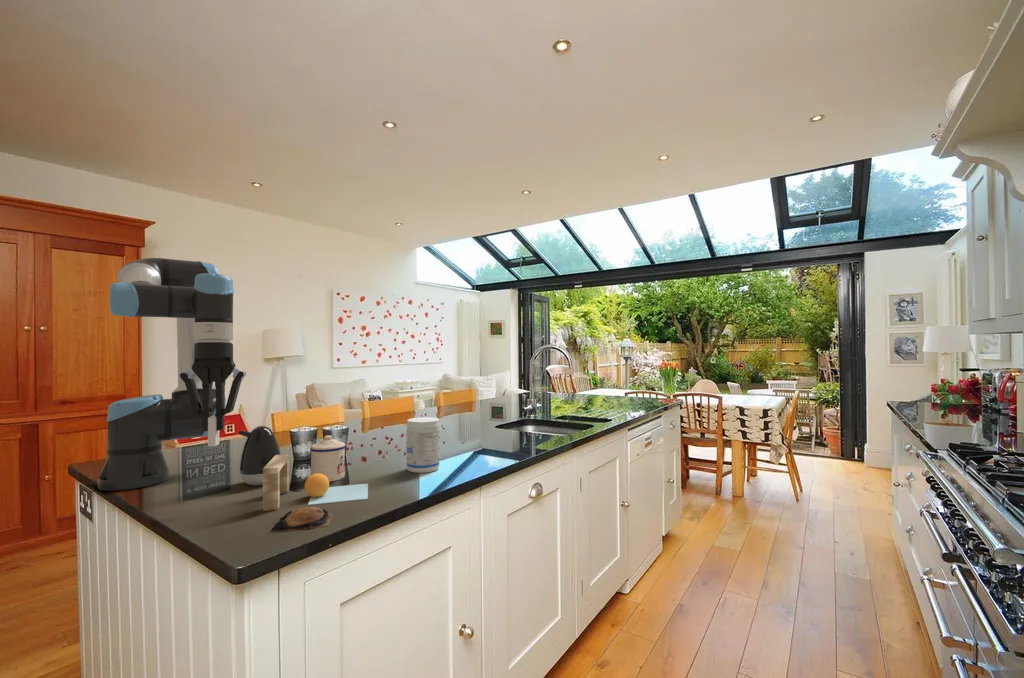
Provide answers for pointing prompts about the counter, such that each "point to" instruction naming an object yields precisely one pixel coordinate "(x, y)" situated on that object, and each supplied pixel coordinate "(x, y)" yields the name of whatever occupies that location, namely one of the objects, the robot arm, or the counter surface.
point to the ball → (316, 485)
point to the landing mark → (342, 494)
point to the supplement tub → (422, 444)
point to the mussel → (303, 519)
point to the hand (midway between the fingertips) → (213, 445)
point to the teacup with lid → (328, 458)
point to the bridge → (275, 481)
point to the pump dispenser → (257, 454)
